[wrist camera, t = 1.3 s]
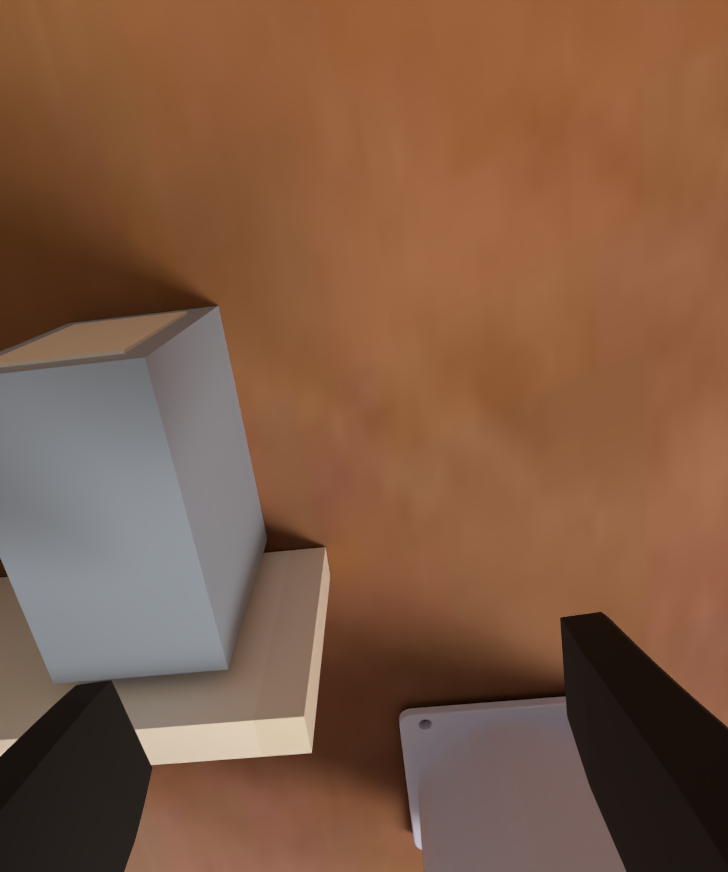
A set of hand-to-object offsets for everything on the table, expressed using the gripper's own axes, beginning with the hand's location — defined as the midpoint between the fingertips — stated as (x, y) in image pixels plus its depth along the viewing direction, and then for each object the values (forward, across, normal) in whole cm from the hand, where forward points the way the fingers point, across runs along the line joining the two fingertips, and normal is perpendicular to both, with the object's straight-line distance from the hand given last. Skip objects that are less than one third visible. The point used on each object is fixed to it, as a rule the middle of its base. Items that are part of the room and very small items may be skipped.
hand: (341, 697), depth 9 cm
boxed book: (+10, +6, -1) cm, 12 cm away
